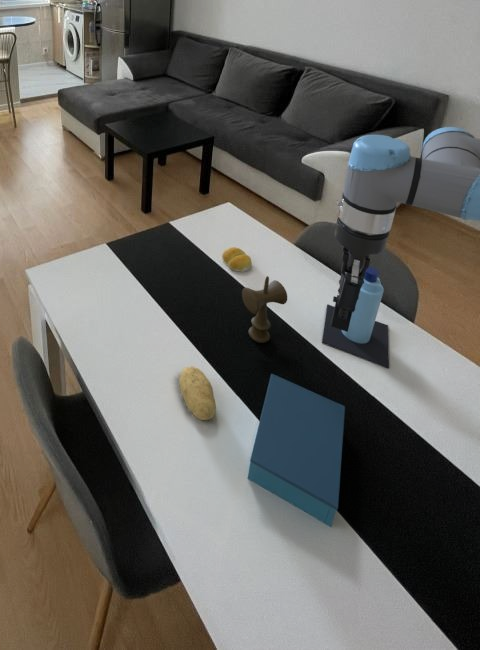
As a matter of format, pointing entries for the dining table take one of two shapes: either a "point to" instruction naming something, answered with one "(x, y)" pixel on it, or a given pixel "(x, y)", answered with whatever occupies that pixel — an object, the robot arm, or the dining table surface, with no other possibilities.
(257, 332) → the kendama
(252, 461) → the lid
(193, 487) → the dining table surface
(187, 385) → the potato
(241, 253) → the bread roll
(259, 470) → the blue open box
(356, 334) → the water bottle
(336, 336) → the mat
